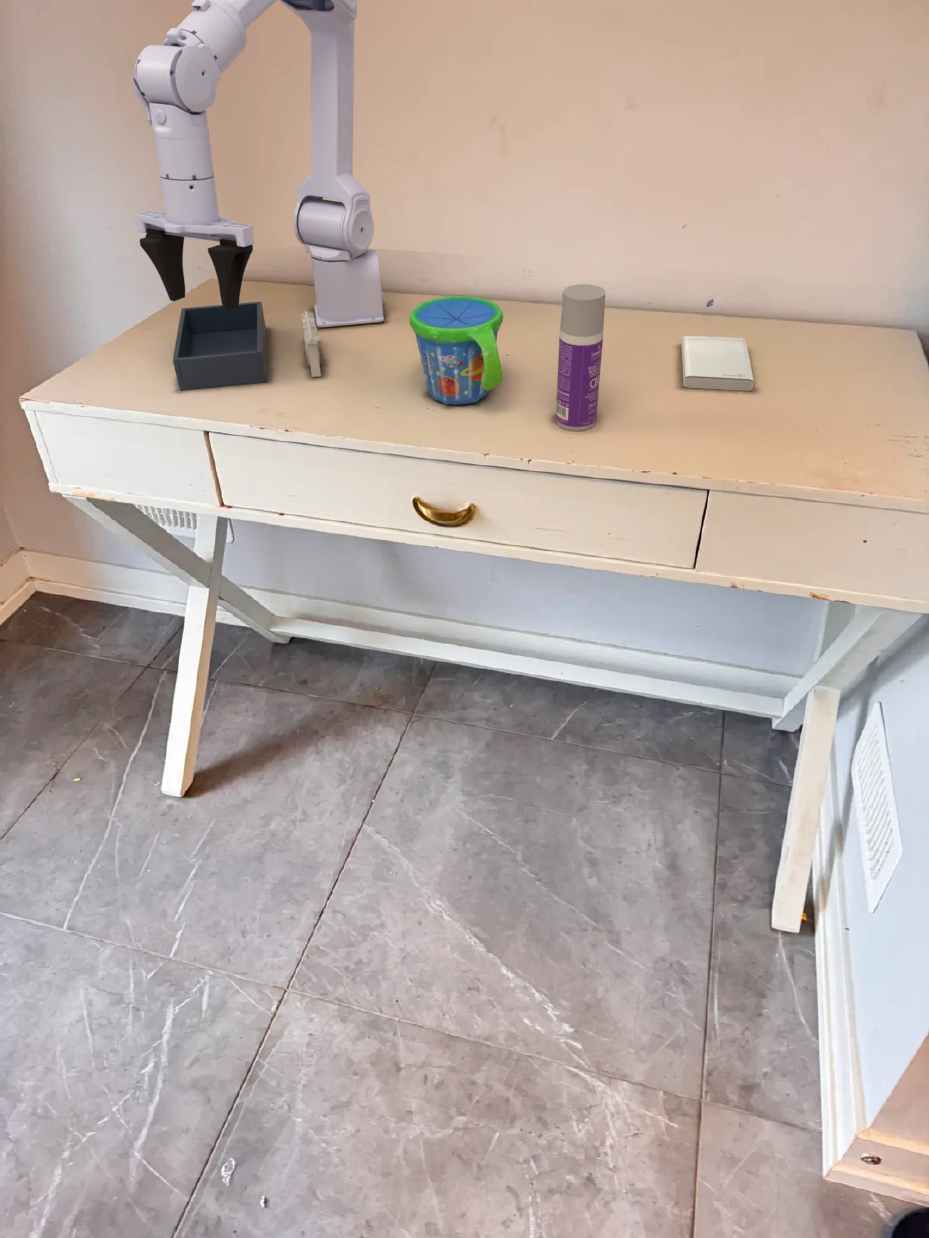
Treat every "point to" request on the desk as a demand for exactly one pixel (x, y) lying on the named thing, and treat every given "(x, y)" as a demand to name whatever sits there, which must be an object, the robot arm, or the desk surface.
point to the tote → (221, 346)
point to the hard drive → (716, 363)
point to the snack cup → (458, 347)
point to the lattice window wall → (311, 343)
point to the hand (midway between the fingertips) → (204, 303)
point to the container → (579, 356)
